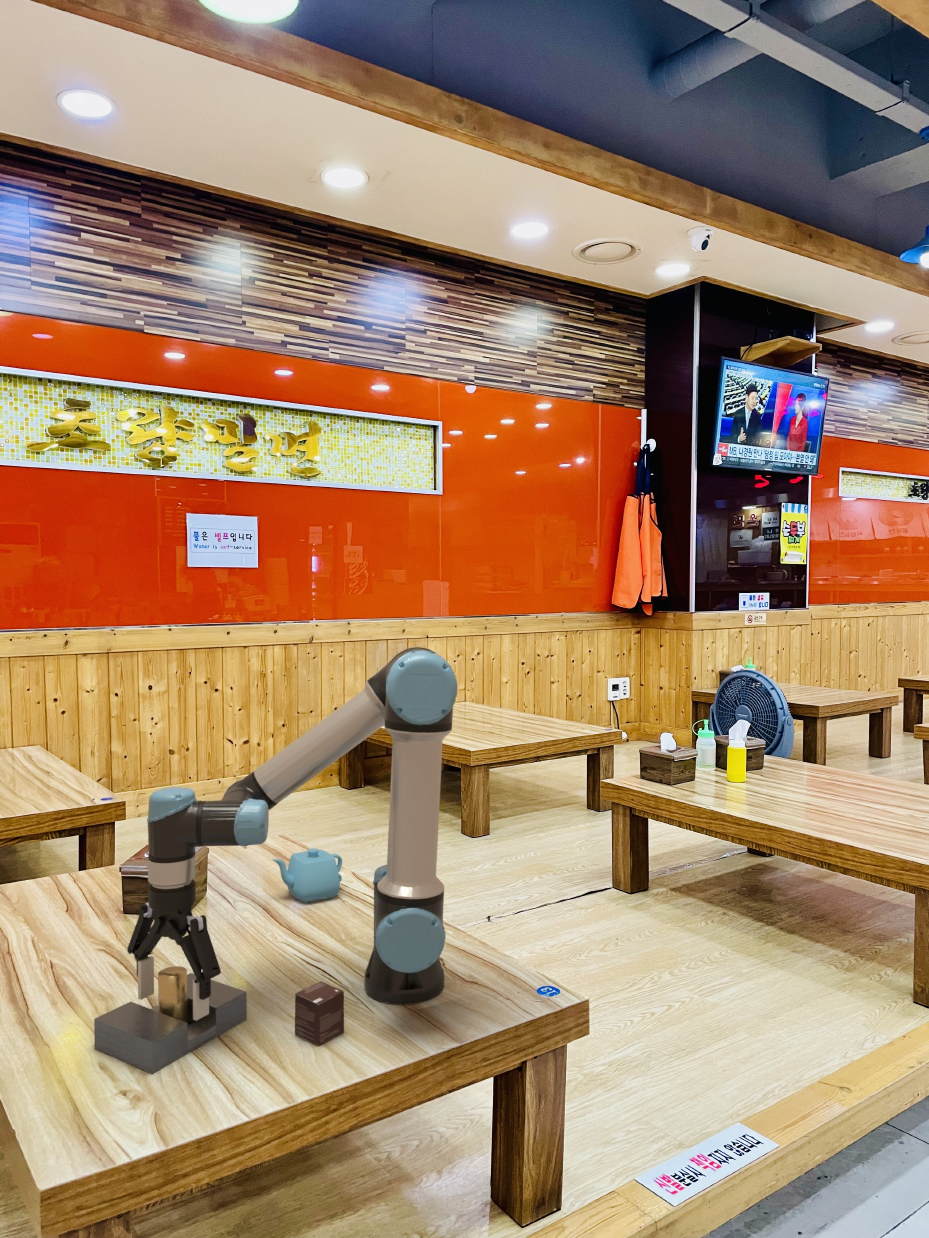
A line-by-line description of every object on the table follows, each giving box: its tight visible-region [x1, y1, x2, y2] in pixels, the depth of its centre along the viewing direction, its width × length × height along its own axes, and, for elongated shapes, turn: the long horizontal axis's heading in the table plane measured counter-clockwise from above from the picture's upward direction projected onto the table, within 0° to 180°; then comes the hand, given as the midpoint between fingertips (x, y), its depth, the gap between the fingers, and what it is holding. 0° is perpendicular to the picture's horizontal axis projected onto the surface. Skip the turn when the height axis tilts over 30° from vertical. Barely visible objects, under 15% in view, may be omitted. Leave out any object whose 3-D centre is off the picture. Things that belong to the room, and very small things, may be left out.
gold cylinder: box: [157, 965, 188, 1023], centre depth 147 cm, size 5×5×10 cm
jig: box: [93, 972, 248, 1075], centre depth 147 cm, size 14×20×5 cm
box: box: [294, 981, 345, 1047], centre depth 147 cm, size 6×6×7 cm
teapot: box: [271, 848, 343, 904], centre depth 213 cm, size 12×18×12 cm
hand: (172, 1006), depth 147 cm, fingers open, 13 cm apart
